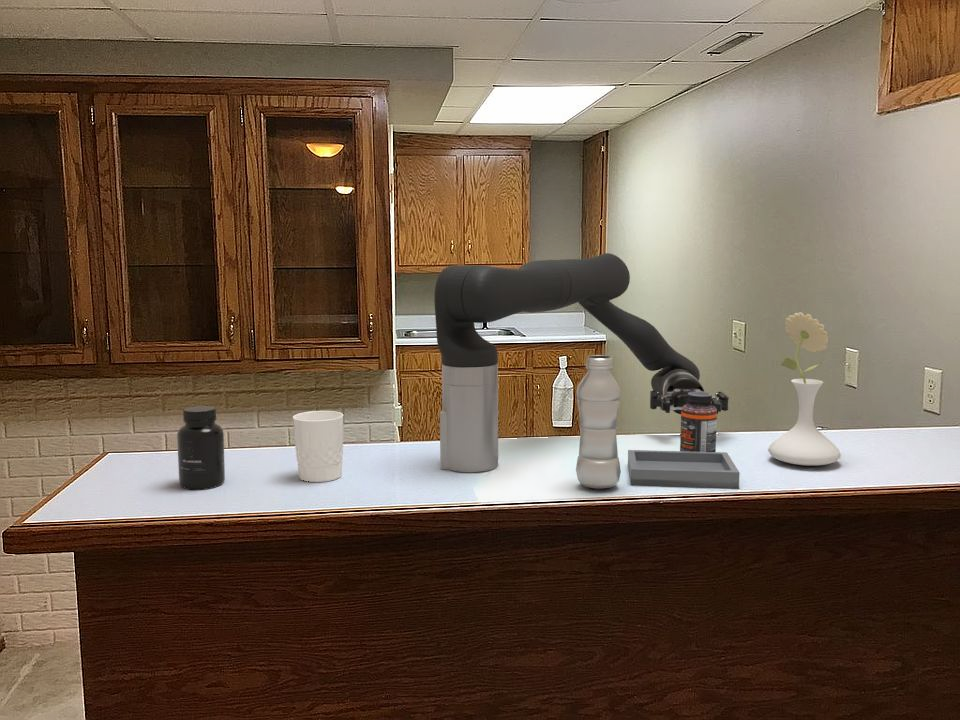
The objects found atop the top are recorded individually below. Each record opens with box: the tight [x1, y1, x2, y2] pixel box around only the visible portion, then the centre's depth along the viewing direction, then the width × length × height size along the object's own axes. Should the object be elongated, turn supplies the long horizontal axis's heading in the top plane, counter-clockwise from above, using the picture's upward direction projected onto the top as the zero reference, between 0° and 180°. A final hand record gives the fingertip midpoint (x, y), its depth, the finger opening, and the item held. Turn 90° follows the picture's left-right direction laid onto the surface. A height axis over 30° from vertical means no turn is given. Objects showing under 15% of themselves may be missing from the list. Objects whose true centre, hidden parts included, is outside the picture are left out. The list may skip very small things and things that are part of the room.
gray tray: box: [627, 449, 740, 490], centre depth 132 cm, size 16×12×2 cm
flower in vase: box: [767, 311, 842, 466], centre depth 139 cm, size 13×11×25 cm
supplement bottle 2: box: [679, 391, 718, 452], centre depth 142 cm, size 6×6×11 cm
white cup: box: [292, 410, 344, 483], centre depth 133 cm, size 8×8×10 cm
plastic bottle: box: [575, 354, 622, 489], centre depth 125 cm, size 6×7×20 cm
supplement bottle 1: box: [176, 405, 226, 490], centre depth 129 cm, size 7×7×12 cm
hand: (692, 408), depth 151 cm, fingers open, 8 cm apart
